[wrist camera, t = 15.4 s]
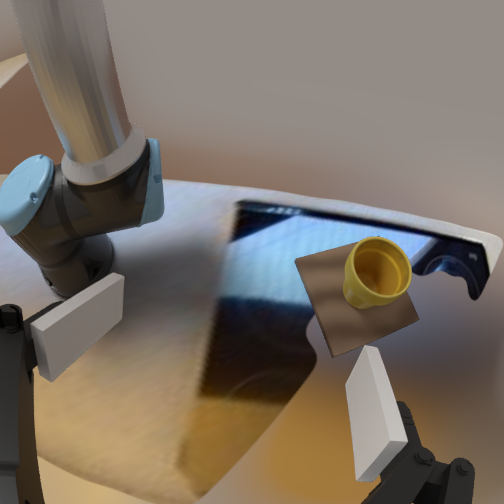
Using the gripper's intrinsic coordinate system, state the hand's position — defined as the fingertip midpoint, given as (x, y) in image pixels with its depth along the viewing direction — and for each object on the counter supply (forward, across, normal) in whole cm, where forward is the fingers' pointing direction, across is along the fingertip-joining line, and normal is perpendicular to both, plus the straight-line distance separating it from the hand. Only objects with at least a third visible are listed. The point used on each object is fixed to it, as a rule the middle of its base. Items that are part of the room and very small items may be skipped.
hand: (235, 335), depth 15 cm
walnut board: (+37, +16, -9) cm, 42 cm away
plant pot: (+37, +16, -8) cm, 41 cm away
